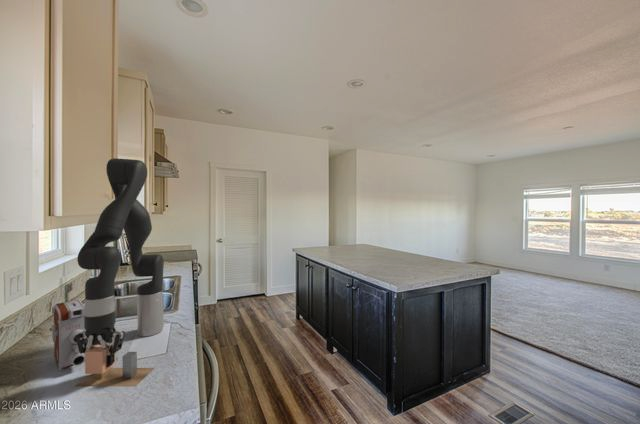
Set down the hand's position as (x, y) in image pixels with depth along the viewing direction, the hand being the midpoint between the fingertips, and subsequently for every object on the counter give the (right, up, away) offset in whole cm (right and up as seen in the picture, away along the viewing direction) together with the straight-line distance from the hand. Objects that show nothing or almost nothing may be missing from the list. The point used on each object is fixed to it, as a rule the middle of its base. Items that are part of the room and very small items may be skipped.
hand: (100, 365), depth 84 cm
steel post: (+9, -3, 0) cm, 10 cm away
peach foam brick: (0, -1, 0) cm, 1 cm away
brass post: (0, -3, 0) cm, 3 cm away
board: (+5, -4, 0) cm, 7 cm away
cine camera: (-17, -5, +9) cm, 20 cm away
